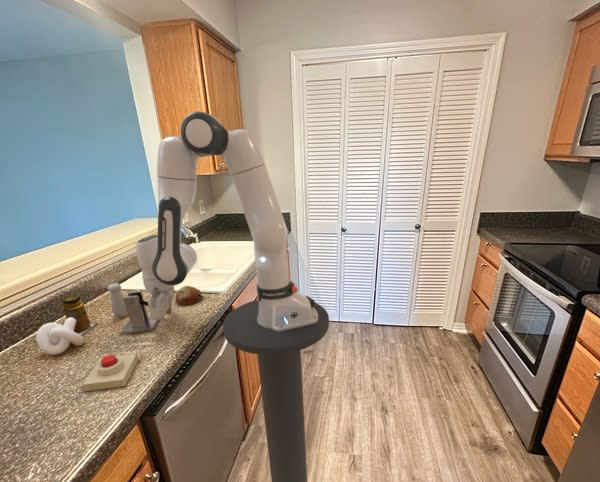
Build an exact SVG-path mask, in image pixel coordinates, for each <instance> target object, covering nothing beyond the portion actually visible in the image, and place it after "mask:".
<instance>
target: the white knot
mask: <svg viewBox="0 0 600 482" xmlns="http://www.w3.org/2000/svg"><path fill="white" fill-rule="evenodd" d="M75 324H76V319H74V318H72V317H70V318H66V319H65V320H64V322H63V324H60V323H58V322H46V323H44V324H43V325H42V326H40V327H39V328H38V329H37V332H36V336H35V339H36V343H37V346H38V348H39V349H40V350H41V351H42V352H44V353H45V354H47V355H52V356H53V355H54V356H55V355H60V354H63V353H64V352H66V350H67V349H68V348H69V347H70V344H72V345H74V346H79V347H80V346H82V345H84V343H85V338H84V336H83V335H79V334H77V333H76V332H74V327H75Z"/></svg>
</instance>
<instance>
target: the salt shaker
mask: <svg viewBox="0 0 600 482" xmlns="http://www.w3.org/2000/svg"><path fill="white" fill-rule="evenodd" d="M106 289H107V291H108V292H109V293H110V301H111V302H110V303H111V313H112V314H113V315H114V316H115V317H116V318H117V319H124V318H126V317H127V316H128V312H127V309H126V305H125V302H124V297H125V296H124V295H123V294H122V291H121V290H122V286H121V284H120V283H118V282H115V283H110V284H109V285H108V286H107V288H106ZM128 317H129V316H128Z"/></svg>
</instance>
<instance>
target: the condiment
mask: <svg viewBox="0 0 600 482" xmlns="http://www.w3.org/2000/svg"><path fill="white" fill-rule="evenodd" d="M61 303H62V306H63V307H62V310H63V312H64V315H65V318H66V319H67V318H70V317H72V318H74V319H76V324H75V327H74V332H76V333H77V334H79V335H81V336H83V335H84V334H85V333H87V332H88V331H89V330H90V329H92V328H93V327H94V326H95V325H96V324H97V322H92V323H91V322H90V319H89V315H88V312H87V310H86V306H85V305H84V304H85V303H83V302H82V299H81V296H79V295H70V296H66V297H65V298H63V299H62V300H61Z"/></svg>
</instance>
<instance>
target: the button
mask: <svg viewBox="0 0 600 482" xmlns="http://www.w3.org/2000/svg"><path fill="white" fill-rule="evenodd" d="M116 356H117V355H114V354H108V355H106V356H103V357H101V358H102V359H101V358H100V359H101V363H102V366H103V367H104V368H106V367H110V366H113V365H115V364H116V363H117V360H116Z"/></svg>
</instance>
